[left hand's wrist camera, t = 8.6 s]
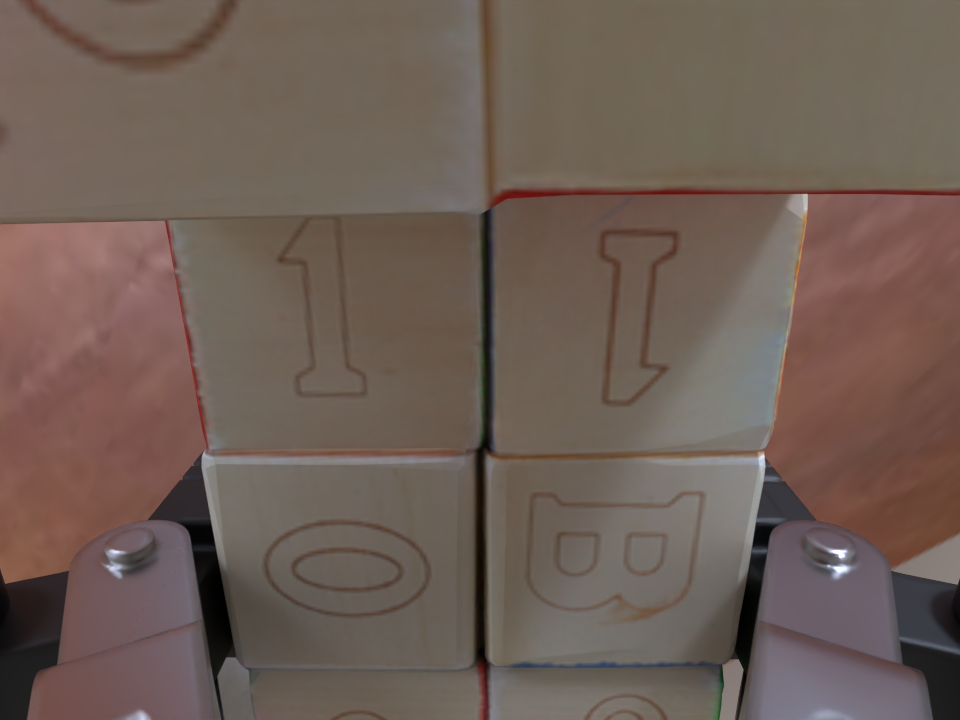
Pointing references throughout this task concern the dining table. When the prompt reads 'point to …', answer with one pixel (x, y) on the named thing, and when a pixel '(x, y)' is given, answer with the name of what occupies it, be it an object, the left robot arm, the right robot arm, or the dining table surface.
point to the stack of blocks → (479, 308)
